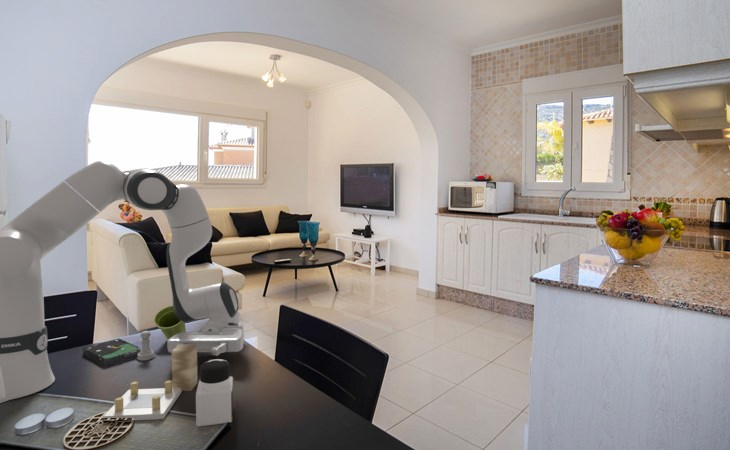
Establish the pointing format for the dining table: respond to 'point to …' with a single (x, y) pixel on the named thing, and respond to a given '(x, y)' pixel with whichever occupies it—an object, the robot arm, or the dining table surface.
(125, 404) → the white pegged board
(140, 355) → the chess piece
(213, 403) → the medicine bottle
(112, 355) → the disk drive
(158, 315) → the plant pot
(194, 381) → the maple block
